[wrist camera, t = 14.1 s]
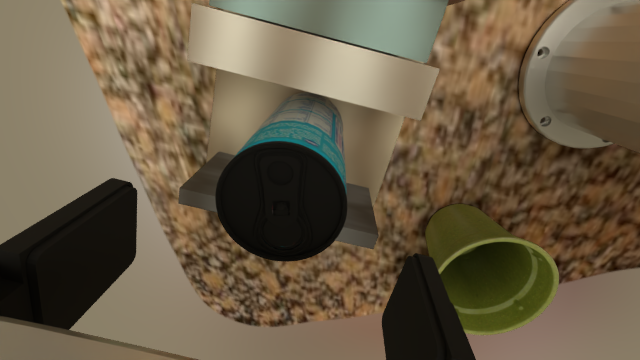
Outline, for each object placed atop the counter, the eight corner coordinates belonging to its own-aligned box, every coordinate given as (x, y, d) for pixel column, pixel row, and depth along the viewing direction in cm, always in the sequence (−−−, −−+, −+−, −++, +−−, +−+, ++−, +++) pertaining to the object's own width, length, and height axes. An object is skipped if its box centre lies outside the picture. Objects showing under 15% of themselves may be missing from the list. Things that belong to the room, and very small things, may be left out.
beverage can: (269, 150, 30) (209, 248, 16) (280, 83, 27) (220, 129, 13) (334, 164, 30) (331, 273, 16) (350, 99, 27) (362, 159, 14)
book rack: (453, -34, 24) (534, -85, 14) (363, 226, 33) (374, 307, 23) (240, -94, 24) (168, -192, 14) (207, 189, 33) (148, 256, 23)
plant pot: (519, 243, 33) (576, 307, 25) (433, 281, 36) (460, 351, 28) (482, 170, 31) (533, 216, 23) (391, 216, 33) (408, 273, 25)
